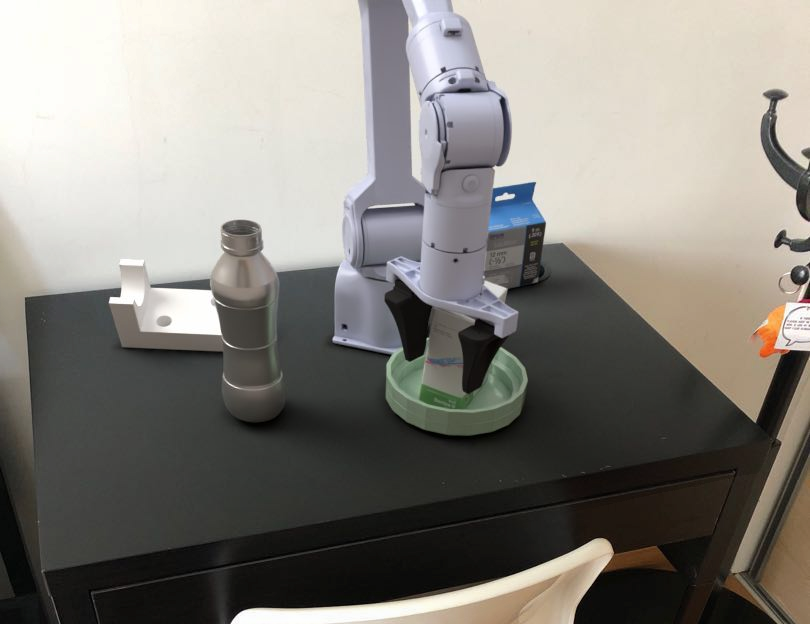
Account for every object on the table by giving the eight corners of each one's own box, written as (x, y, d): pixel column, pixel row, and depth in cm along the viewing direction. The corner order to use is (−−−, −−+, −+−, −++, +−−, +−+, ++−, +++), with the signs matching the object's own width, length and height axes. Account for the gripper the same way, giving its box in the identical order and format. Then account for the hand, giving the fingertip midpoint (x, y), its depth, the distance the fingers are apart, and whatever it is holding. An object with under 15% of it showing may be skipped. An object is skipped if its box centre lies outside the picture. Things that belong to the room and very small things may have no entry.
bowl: (366, 422, 94) (367, 394, 92) (408, 352, 105) (409, 325, 103) (506, 453, 92) (510, 424, 89) (534, 378, 102) (539, 351, 100)
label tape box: (481, 296, 116) (492, 201, 108) (465, 282, 119) (475, 189, 111) (538, 284, 120) (553, 191, 111) (521, 271, 122) (535, 180, 114)
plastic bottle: (261, 438, 91) (247, 250, 78) (210, 415, 94) (188, 229, 80) (300, 409, 96) (293, 225, 82) (250, 388, 98) (235, 206, 85)
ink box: (448, 367, 102) (463, 270, 93) (490, 382, 100) (509, 285, 92) (415, 404, 96) (428, 304, 88) (460, 420, 94) (477, 321, 86)
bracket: (123, 353, 104) (108, 303, 97) (134, 309, 108) (120, 258, 101) (237, 357, 104) (229, 308, 98) (243, 314, 108) (237, 264, 102)
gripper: (547, 254, 78) (525, 388, 87) (425, 202, 85) (417, 331, 94) (495, 278, 74) (478, 416, 83) (372, 222, 81) (368, 354, 90)
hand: (442, 372), depth 88 cm, fingers open, 7 cm apart
